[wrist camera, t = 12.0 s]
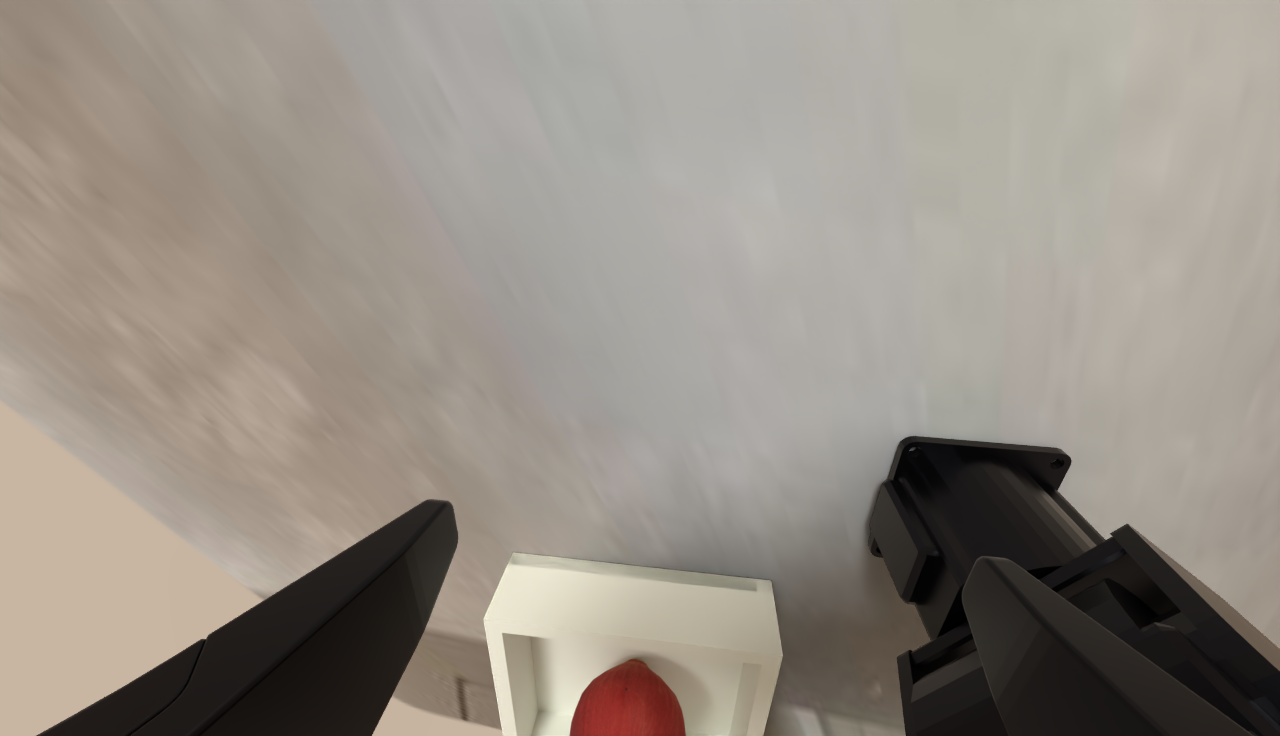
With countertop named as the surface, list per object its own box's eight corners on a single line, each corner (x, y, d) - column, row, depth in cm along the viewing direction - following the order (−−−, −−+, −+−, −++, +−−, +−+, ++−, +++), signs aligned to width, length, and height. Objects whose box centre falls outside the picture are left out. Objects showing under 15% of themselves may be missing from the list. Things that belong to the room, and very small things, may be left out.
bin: (771, 580, 25) (782, 655, 22) (739, 731, 31) (744, 809, 28) (512, 552, 26) (483, 619, 23) (530, 702, 32) (509, 774, 29)
